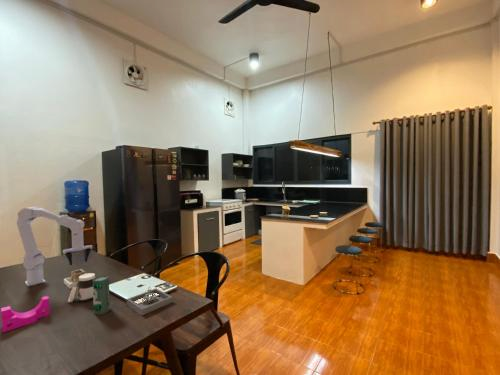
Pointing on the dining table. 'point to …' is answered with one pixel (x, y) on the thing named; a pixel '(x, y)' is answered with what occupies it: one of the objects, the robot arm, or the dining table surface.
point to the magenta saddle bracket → (23, 315)
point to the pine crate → (76, 275)
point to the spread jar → (83, 288)
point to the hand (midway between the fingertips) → (78, 263)
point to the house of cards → (152, 298)
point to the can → (101, 295)
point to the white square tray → (70, 282)
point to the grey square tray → (151, 306)
